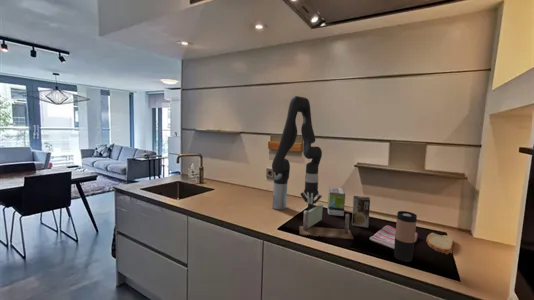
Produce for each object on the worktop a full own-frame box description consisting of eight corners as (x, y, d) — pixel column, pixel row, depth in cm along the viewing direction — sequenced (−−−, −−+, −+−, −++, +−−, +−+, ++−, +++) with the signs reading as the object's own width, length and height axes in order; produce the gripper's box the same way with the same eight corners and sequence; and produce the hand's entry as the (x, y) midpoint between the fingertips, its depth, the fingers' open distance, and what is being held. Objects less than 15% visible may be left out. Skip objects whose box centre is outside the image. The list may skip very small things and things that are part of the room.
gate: (307, 228, 140) (308, 212, 139) (305, 227, 141) (306, 211, 140) (322, 219, 155) (323, 204, 154) (319, 218, 156) (320, 204, 155)
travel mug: (389, 253, 119) (393, 210, 117) (405, 253, 119) (409, 210, 117) (399, 262, 111) (404, 217, 109) (416, 262, 112) (421, 217, 110)
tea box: (344, 216, 165) (345, 193, 163) (327, 214, 167) (329, 192, 165) (342, 209, 179) (343, 187, 178) (327, 207, 181) (328, 186, 180)
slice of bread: (444, 255, 119) (445, 248, 119) (413, 238, 136) (413, 231, 136) (474, 252, 124) (475, 244, 123) (440, 236, 141) (441, 229, 141)
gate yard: (299, 234, 135) (300, 214, 134) (299, 227, 145) (300, 207, 144) (353, 239, 132) (355, 218, 131) (349, 231, 142) (350, 211, 141)
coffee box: (367, 223, 154) (370, 197, 152) (368, 228, 147) (370, 200, 146) (351, 221, 156) (353, 195, 155) (351, 225, 150) (353, 198, 149)
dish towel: (418, 239, 137) (419, 232, 136) (405, 254, 120) (405, 247, 119) (384, 229, 148) (385, 223, 148) (368, 241, 131) (368, 235, 131)
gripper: (298, 180, 152) (297, 209, 154) (320, 183, 146) (319, 213, 148) (303, 178, 159) (302, 206, 160) (324, 181, 152) (323, 209, 154)
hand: (310, 209), depth 154 cm, fingers closed
